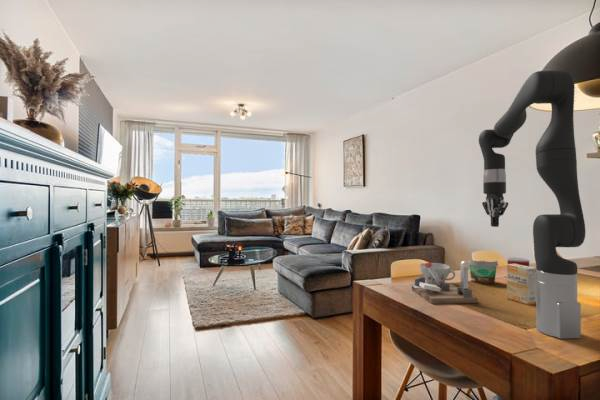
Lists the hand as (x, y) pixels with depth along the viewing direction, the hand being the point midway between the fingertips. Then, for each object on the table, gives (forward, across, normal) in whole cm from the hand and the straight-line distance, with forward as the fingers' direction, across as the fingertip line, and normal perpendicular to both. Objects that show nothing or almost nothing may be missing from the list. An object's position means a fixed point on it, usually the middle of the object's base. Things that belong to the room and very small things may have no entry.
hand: (494, 226), depth 128 cm
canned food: (+27, +18, -22) cm, 39 cm away
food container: (+27, +20, -8) cm, 35 cm away
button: (+25, +10, +26) cm, 37 cm away
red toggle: (+24, +5, +18) cm, 31 cm away
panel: (+27, +2, +20) cm, 33 cm away
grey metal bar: (+24, -4, +14) cm, 29 cm away
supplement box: (+27, -6, -6) cm, 28 cm away
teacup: (+27, +21, +13) cm, 37 cm away
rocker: (+24, +1, +25) cm, 35 cm away
